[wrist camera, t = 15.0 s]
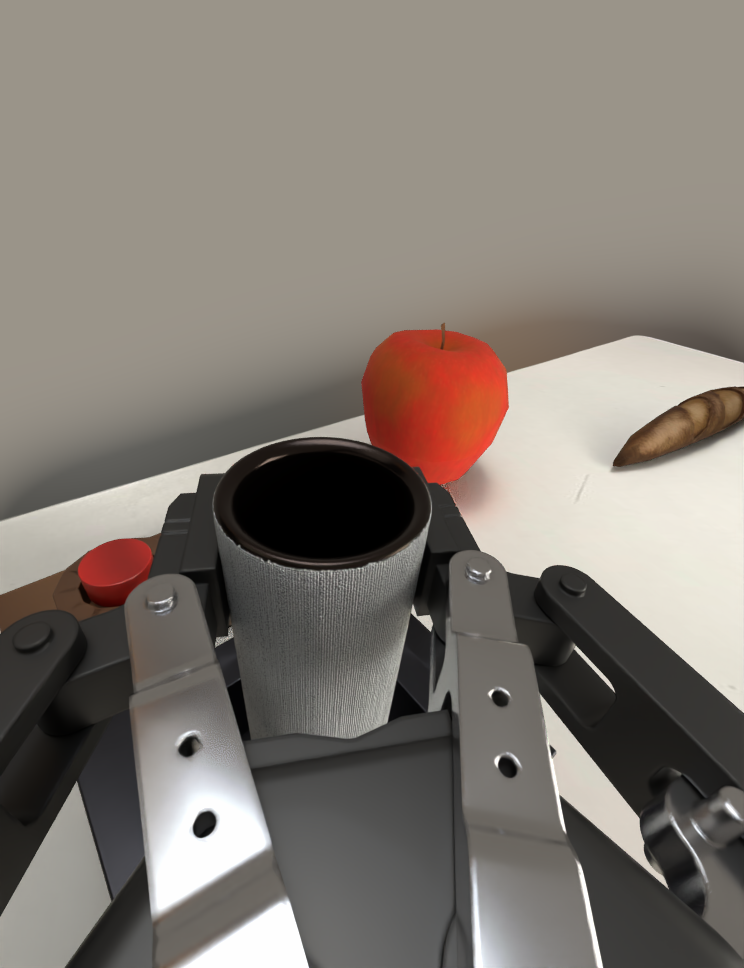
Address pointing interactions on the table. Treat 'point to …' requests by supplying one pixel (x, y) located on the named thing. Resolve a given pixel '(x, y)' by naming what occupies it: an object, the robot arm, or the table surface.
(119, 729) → the open-top black bin
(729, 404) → the bread
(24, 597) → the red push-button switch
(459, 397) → the apple
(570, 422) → the table surface
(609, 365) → the table surface
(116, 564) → the button
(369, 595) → the dark grey hollow cylinder
